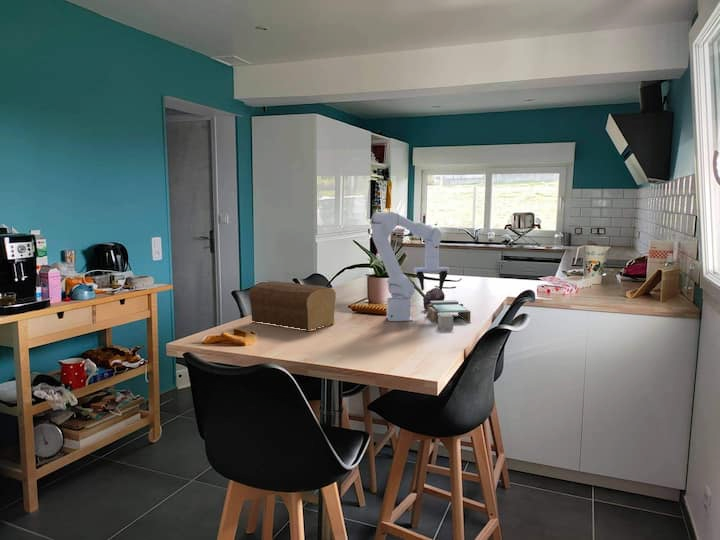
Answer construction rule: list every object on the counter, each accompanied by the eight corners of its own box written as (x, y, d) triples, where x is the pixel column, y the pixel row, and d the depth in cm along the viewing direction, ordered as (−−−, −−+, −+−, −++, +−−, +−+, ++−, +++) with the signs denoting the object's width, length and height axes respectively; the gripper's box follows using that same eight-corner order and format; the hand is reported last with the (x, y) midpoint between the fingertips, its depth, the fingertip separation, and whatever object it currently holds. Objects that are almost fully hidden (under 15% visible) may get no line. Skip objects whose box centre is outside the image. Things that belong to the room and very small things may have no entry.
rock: (420, 312, 236) (443, 313, 232) (418, 294, 233) (441, 294, 230) (426, 304, 246) (448, 304, 242) (425, 286, 244) (447, 286, 240)
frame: (426, 315, 224) (427, 303, 224) (461, 314, 225) (461, 302, 225) (434, 322, 210) (434, 310, 210) (470, 321, 212) (470, 309, 211)
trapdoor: (430, 306, 226) (430, 300, 226) (455, 305, 227) (455, 300, 227) (439, 314, 209) (439, 308, 209) (467, 314, 210) (467, 308, 210)
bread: (280, 315, 227) (279, 277, 225) (337, 324, 210) (336, 283, 208) (248, 323, 213) (247, 283, 211) (306, 333, 196) (305, 289, 194)
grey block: (441, 329, 199) (441, 316, 198) (438, 327, 203) (438, 313, 203) (453, 329, 199) (453, 316, 199) (449, 326, 204) (450, 313, 203)
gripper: (416, 258, 218) (416, 291, 220) (451, 257, 220) (451, 290, 221) (413, 256, 225) (413, 288, 227) (447, 256, 227) (447, 288, 228)
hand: (431, 289), depth 225 cm, fingers open, 7 cm apart
